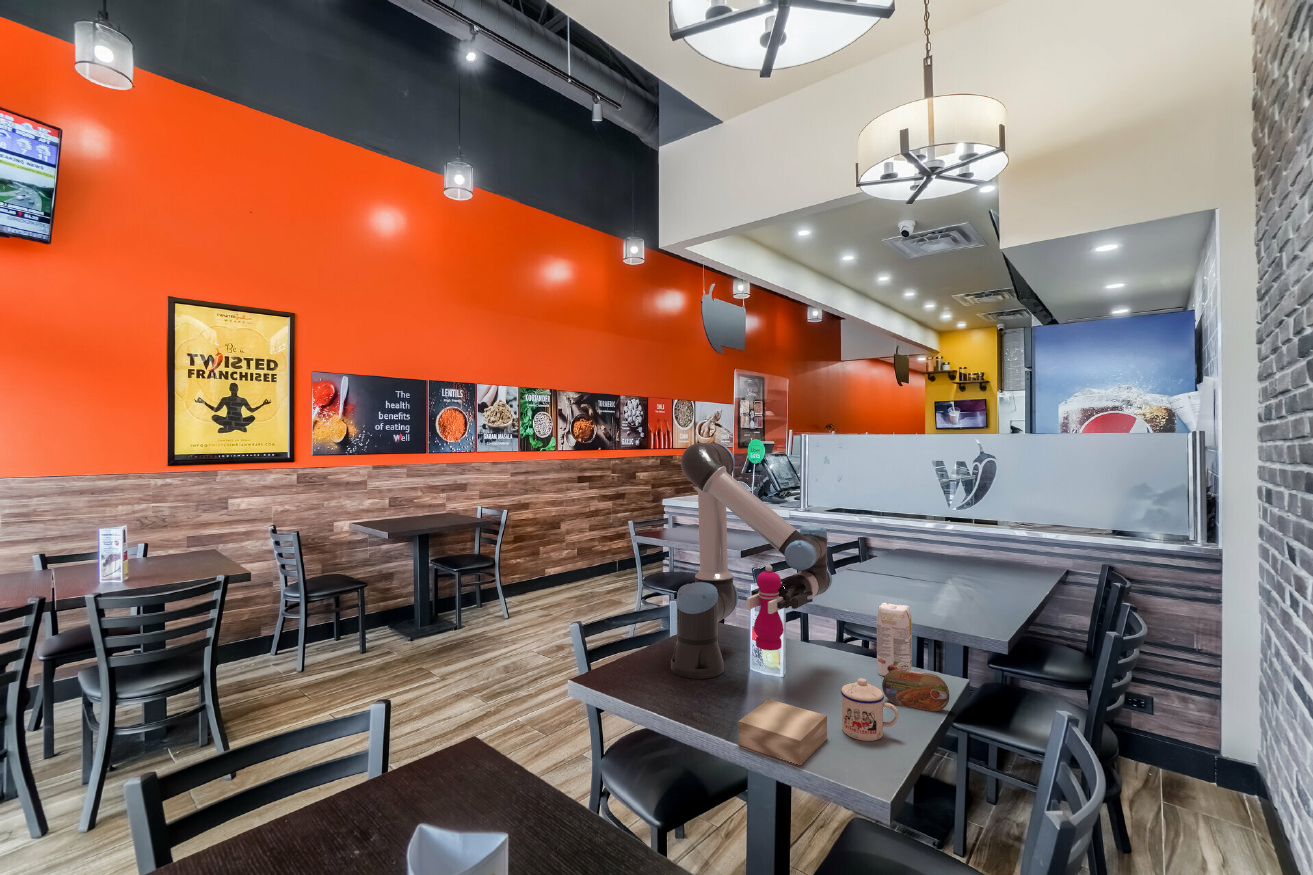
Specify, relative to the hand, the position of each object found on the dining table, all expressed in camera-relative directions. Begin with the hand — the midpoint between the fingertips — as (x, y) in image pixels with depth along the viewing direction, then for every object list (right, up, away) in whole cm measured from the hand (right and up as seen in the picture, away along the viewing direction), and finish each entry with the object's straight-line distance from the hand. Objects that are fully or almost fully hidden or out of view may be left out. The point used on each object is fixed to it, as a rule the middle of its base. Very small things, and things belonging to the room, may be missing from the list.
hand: (758, 605), depth 143 cm
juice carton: (+42, -26, +23) cm, 54 cm away
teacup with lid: (+23, -25, -11) cm, 36 cm away
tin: (+39, -26, +3) cm, 47 cm away
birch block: (+3, -25, -15) cm, 29 cm away
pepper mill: (+3, -11, +4) cm, 12 cm away
